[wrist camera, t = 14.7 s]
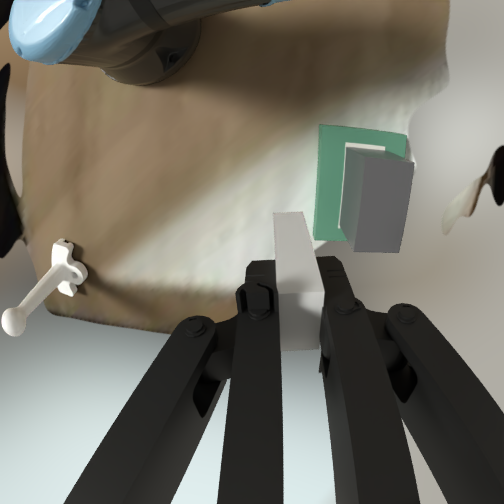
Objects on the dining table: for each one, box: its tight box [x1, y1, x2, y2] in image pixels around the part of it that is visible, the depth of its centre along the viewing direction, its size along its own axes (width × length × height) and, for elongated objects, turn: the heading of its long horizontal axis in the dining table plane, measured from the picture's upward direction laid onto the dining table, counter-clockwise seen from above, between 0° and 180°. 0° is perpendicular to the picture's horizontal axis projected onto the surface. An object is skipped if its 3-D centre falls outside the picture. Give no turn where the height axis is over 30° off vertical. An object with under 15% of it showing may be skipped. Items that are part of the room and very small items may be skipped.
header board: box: [313, 124, 407, 241], centre depth 36 cm, size 16×12×6 cm
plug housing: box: [339, 147, 414, 253], centre depth 33 cm, size 11×6×8 cm, turn 0°
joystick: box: [2, 238, 88, 336], centre depth 39 cm, size 11×8×20 cm
